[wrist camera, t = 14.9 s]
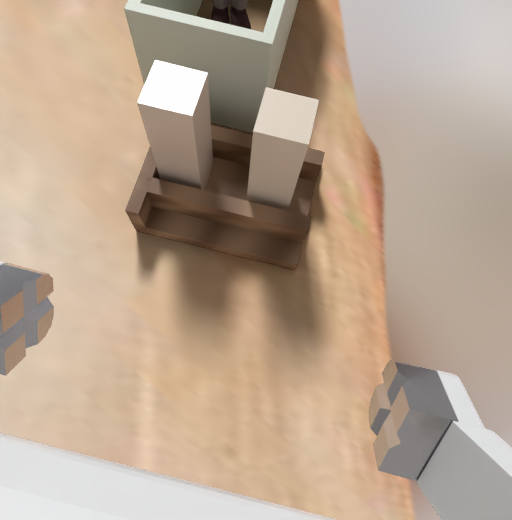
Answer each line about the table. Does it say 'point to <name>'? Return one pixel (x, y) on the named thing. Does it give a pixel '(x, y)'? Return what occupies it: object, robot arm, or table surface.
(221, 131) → the rack
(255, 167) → the clay bar
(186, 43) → the pale green open box
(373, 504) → the table surface
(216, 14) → the toy
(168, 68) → the racked bar
